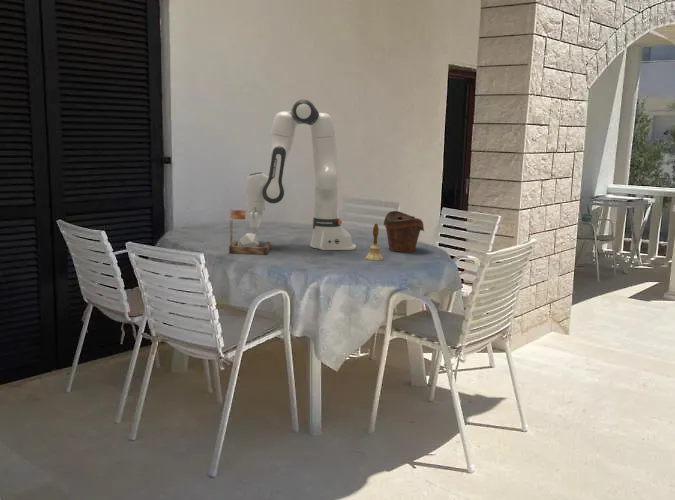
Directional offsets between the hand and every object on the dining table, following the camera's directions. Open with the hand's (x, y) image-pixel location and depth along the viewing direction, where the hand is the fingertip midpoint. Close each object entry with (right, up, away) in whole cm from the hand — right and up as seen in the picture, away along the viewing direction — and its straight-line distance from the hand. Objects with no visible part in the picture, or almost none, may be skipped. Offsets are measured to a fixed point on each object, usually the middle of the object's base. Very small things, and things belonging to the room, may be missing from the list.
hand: (255, 234), depth 324 cm
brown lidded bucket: (+71, -7, +2) cm, 72 cm away
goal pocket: (-1, -7, -13) cm, 15 cm away
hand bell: (+56, -11, -22) cm, 61 cm away
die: (-1, -8, -13) cm, 15 cm away
